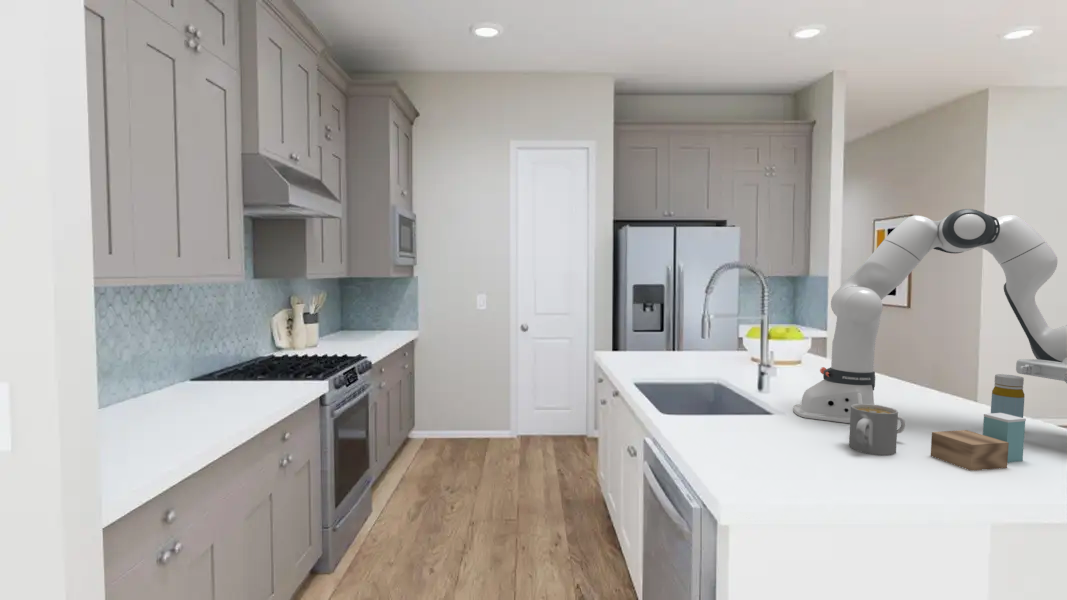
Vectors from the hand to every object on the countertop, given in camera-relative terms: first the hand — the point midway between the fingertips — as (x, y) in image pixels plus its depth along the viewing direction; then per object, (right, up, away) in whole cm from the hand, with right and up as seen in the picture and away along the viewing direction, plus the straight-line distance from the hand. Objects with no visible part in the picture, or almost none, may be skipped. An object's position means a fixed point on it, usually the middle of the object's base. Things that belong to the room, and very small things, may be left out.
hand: (1044, 373), depth 138 cm
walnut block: (-22, -20, -5) cm, 30 cm away
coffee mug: (-41, -19, +3) cm, 45 cm away
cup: (-33, -19, +11) cm, 40 cm away
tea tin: (-12, -20, -2) cm, 23 cm away
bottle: (+9, -19, +23) cm, 31 cm away
